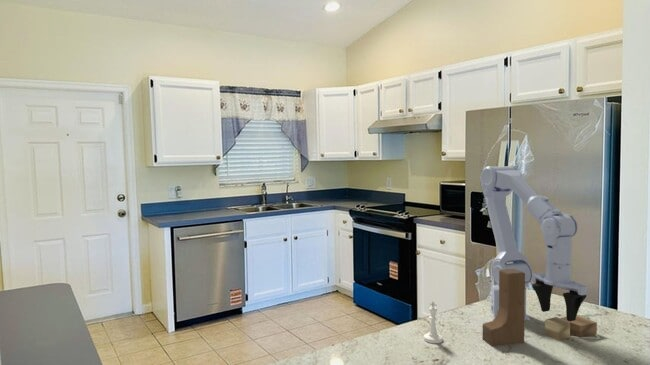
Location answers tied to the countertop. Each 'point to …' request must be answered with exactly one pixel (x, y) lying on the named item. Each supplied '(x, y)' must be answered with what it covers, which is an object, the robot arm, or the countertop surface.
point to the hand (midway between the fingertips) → (558, 315)
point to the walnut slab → (582, 327)
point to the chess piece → (433, 327)
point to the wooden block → (508, 311)
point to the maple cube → (557, 328)
